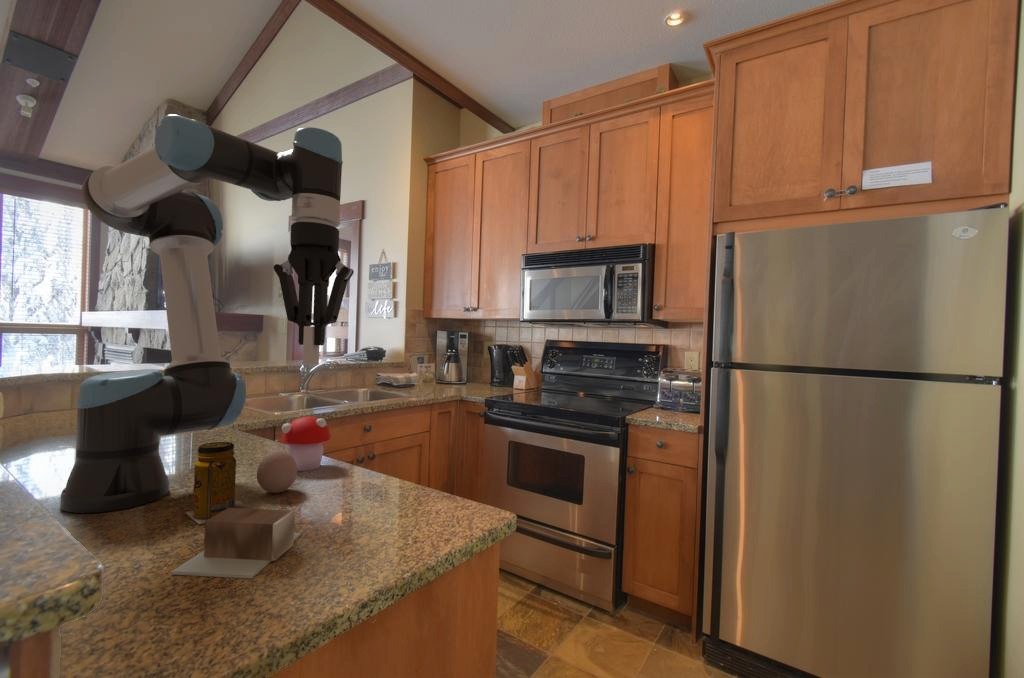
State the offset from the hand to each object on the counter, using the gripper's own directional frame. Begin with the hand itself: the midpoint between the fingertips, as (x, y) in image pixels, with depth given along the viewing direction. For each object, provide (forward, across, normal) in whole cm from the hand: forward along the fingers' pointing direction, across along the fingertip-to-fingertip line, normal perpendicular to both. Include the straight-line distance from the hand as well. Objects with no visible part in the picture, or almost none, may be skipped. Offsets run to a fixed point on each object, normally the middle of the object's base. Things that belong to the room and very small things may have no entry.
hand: (310, 364), depth 78 cm
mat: (+26, -3, -12) cm, 29 cm away
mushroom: (+27, -15, +31) cm, 44 cm away
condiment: (+27, -16, +2) cm, 31 cm away
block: (+24, +3, -12) cm, 27 cm away
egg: (+27, -12, +13) cm, 32 cm away
